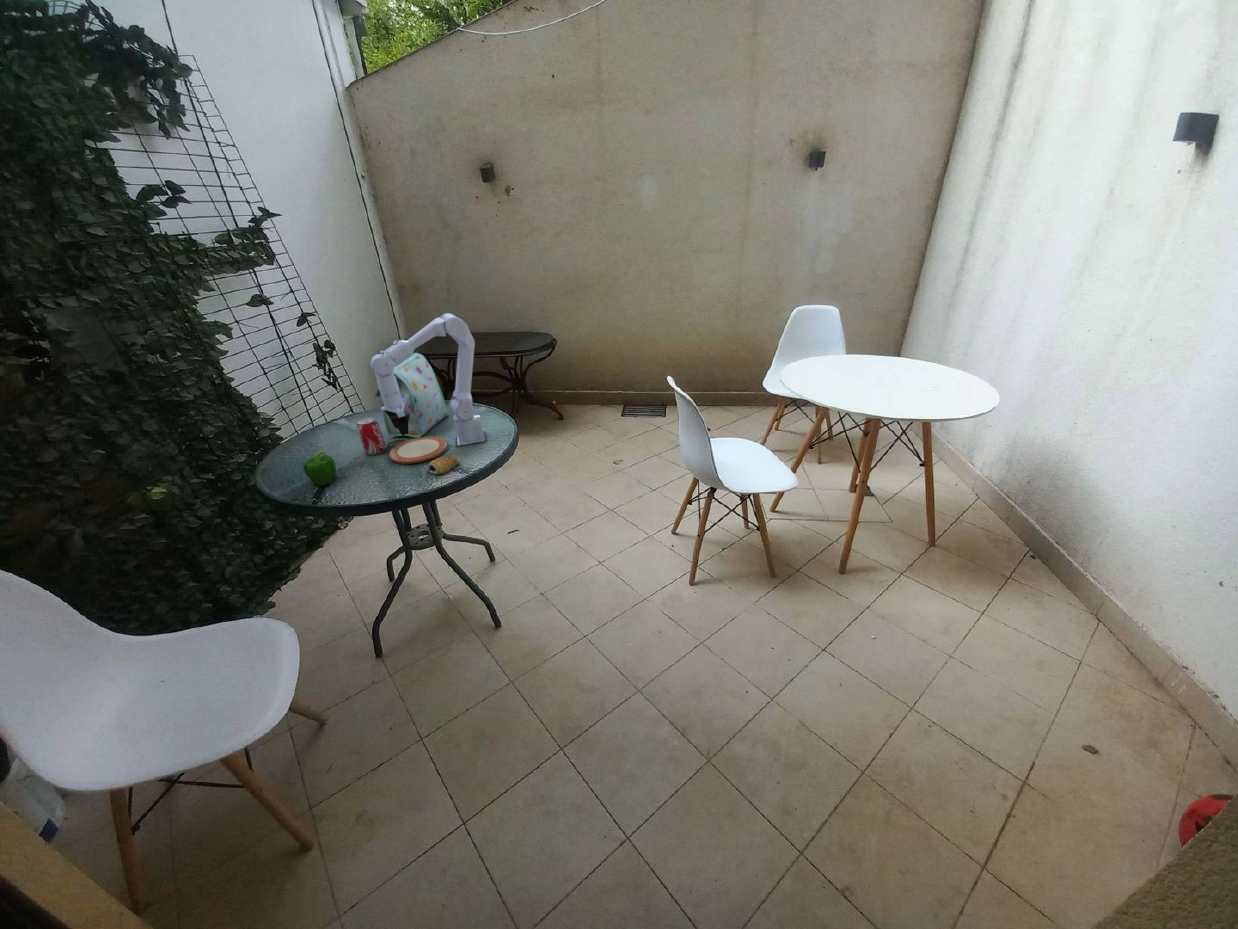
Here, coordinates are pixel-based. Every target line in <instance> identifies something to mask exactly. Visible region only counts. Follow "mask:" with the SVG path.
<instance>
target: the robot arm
mask: <svg viewBox="0 0 1238 929" xmlns="http://www.w3.org/2000/svg"><path fill="white" fill-rule="evenodd" d="M447 335H449V336H450V337H451V338H452V339H453V340H454V341H455V342H456V344H458V347H457V360H456V374H455V385H454V391H453V392H452V397H451V399H450V401H449V406H448V407H449V409H450V410H451V411H452V412H453V417H452V419H453V423H454V428H455V432H456V435H457V436H456V437H457V438H456V441H457V442H456V443H457V446H458V447H460V446H465V445H472V444H477V443H478V444H479V443H483V442H485V440H486V438H485V434H486V433H485V429H484V428H483V423H482V419H481V415H480V414H475V408H474V406H473V405H474V404H473V397H472V393H471V392H472V391H471V390H472V380H473V369H474V368H473V367H474V356H475V346H476V341H475V339H474V337H473V335H472V333H471V331H470V329H469V325H468V323H466V322H465V321H464V320H463V319H462V318H460V317H458V316H456V315H454V314H453V313H450V312H447V313H442V314H441V315H440V316H438V317H436V318H434V319H433V320H432V321H430V322H429V323H428V324H427V325H425V326H424V327H423V328H421V329H420V330H419V331H418V332H416V333H415V334H414V335H412V336H410V338H408V339H407V340H403V339H399V340H394V341H393V342H392V345H391V346H389V347H388V348H386V349H385V350H383V349H382V350H381V351H379V354H378V353H377V354H374V355H373V356H372V357H371V358H370V364H369V366H370V367H371V369H372V370H373V371H374V377H375V379H376V384H377V389H378V388H379V391H380V394H381V397H382V400H383V403H384V407H381V406H380V410H381V412H382V411H385V412H386V414H387V415H388V416H389V418H390V419H391V421H392V423H393V425H394V427H395V428H398V429H399V431H400V433H401V435H406V434H408V433H409V430H408V421H409V417H410V414H409V413H406V414H404V411H403V410H404V406H405V405H404V403H403V401H402V397H401V394H400V390H399V387H398V384H397V380H396V377H395V376H394V373H393V370H394V367H397V366H398V365H400V364H401V363H402V362H404V361H405V360H407V359H408V358H410V357H411V356H413V354H414V353H415V352H414V351H415V349H417V348H418V347H421V346H423V345H424V344H425V343H427V342H428V341H430V340H432V339H433V338H435V337H447Z"/></svg>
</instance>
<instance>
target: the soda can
mask: <svg viewBox="0 0 1238 929" xmlns="http://www.w3.org/2000/svg"><path fill="white" fill-rule="evenodd" d="M356 424H357V425H356V430H357V434H358V436H359V437H358V438H359V439H360V443H361V445H362V448H363V450H364V452H365V454H367V455H370V456H375V455H379V454H381V453H383V452H384V451H385V450H386V448H387V446H386V442H385V439H384V436H383V432H382V429H381V426H380V424H379V422H378V421H377V420H376V418H375V417H371V416H370V417H369V416H368V417H363V418H360V419H359V420H357V422H356Z"/></svg>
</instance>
